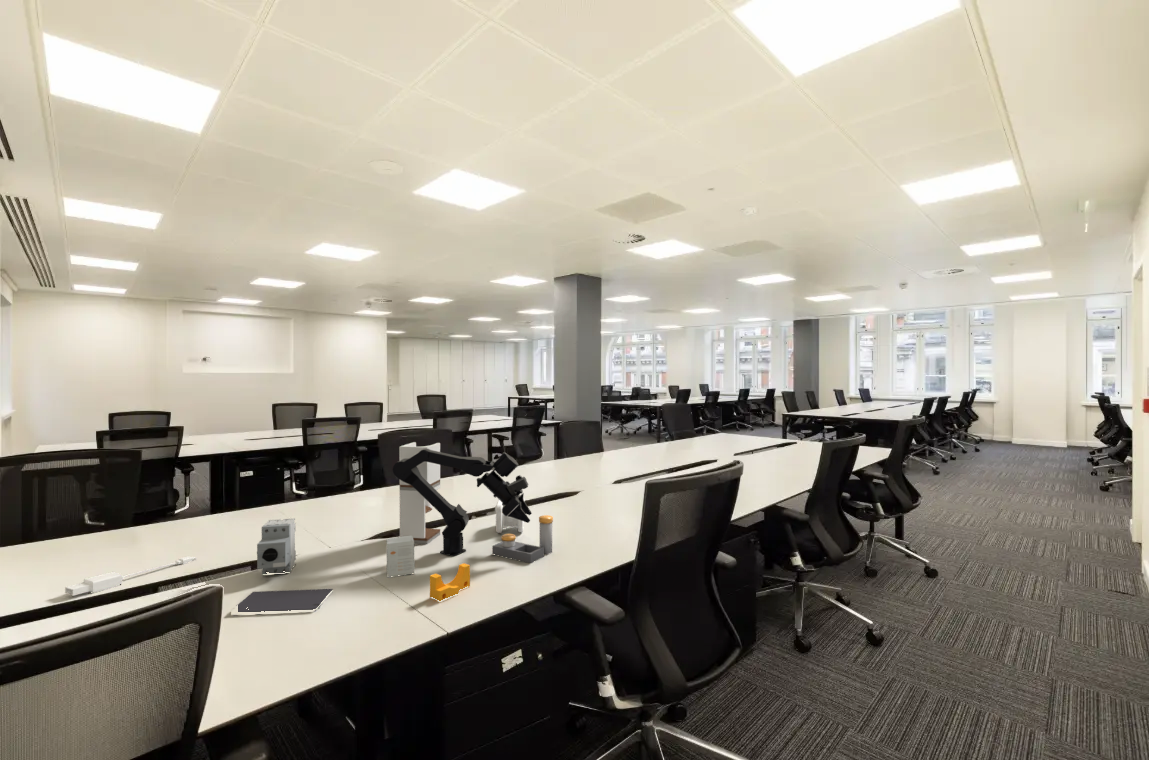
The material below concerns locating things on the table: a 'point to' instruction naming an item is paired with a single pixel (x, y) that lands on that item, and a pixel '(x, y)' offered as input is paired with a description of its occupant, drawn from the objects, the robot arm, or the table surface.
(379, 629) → the table surface
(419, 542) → the display case
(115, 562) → the table surface
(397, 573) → the small box
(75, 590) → the charging cable
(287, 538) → the circuit breaker
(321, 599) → the notebook
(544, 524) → the plug
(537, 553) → the grey divided tray
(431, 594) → the pipe clamp
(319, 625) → the table surface
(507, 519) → the cable organizer
